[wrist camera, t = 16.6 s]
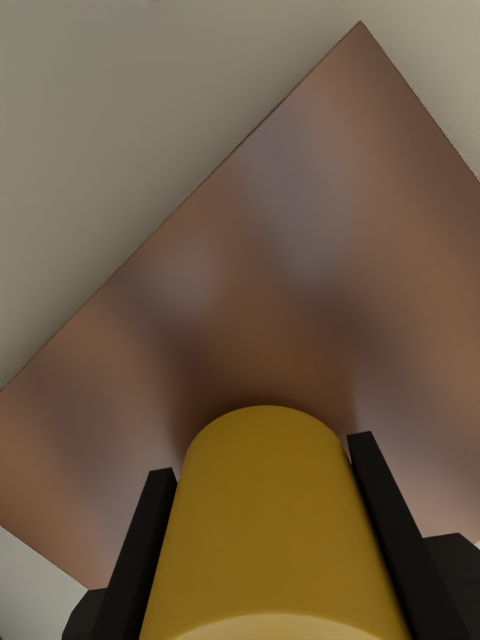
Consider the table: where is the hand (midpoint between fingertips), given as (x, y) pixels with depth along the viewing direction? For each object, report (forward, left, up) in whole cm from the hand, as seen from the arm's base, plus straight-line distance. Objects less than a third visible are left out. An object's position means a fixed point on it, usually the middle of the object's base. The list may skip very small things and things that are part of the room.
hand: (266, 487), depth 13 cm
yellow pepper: (0, 0, 0) cm, 0 cm away
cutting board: (-1, 0, -3) cm, 3 cm away
